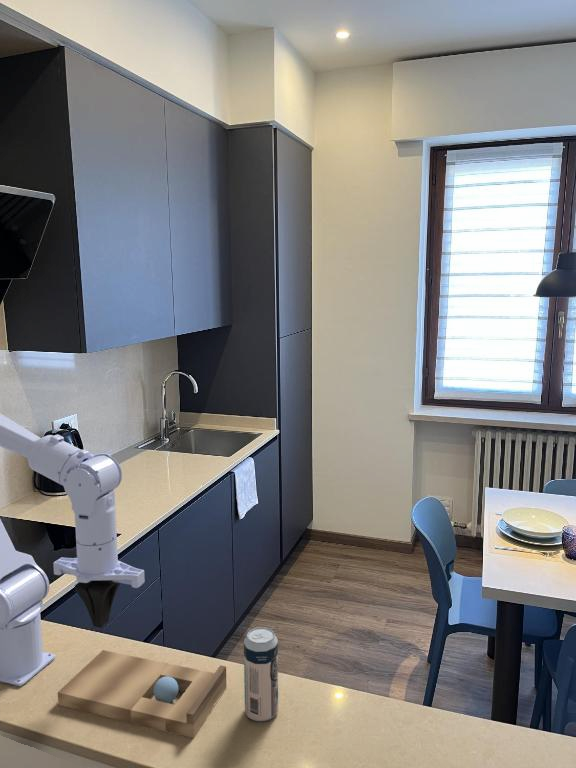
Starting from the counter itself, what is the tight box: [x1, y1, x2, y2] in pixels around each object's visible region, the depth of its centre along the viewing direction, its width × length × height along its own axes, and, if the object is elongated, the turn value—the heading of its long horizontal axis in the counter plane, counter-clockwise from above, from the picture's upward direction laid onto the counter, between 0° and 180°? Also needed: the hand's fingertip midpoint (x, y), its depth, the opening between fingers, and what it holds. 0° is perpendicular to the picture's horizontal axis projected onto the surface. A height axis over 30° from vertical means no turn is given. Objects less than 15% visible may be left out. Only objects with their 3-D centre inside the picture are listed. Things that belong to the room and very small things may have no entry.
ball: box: [153, 676, 179, 704], centre depth 86 cm, size 4×4×4 cm
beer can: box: [243, 626, 279, 722], centre depth 83 cm, size 5×5×12 cm
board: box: [57, 649, 228, 739], centre depth 87 cm, size 22×11×4 cm, turn 72°
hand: (101, 623), depth 88 cm, fingers closed
